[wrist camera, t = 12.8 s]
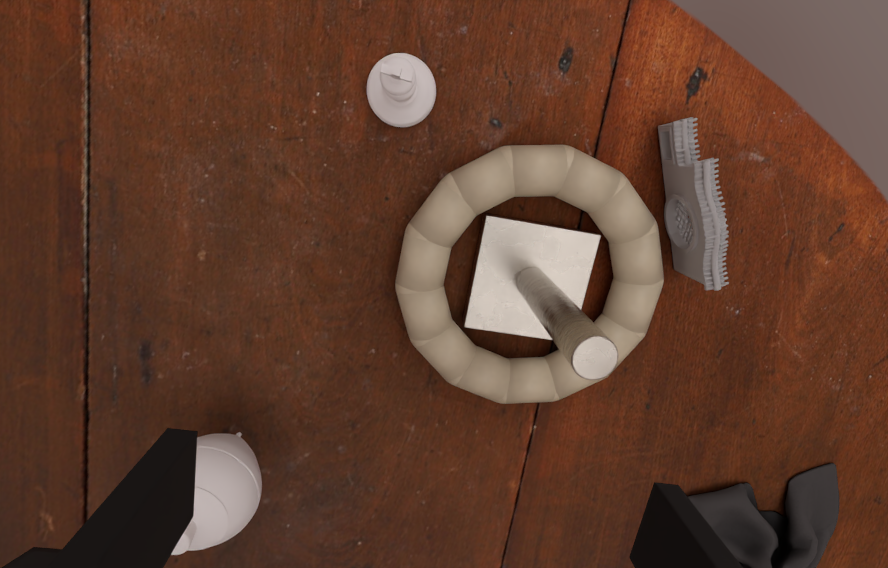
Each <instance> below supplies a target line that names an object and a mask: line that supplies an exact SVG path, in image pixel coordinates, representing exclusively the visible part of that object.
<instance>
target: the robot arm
mask: <svg viewBox="0 0 888 568" xmlns="http://www.w3.org/2000/svg"><path fill="white" fill-rule="evenodd" d="M196 451H197V431H189V430H180V429H171V428H167V430H166V431H165V432H164V433H163V434H162V435H161V436H160V438H159V439H158V440H157V441H156V442H155V443H154V445H153V446H152V447H151V448H150V449H149V450H148V451H147V453H146V454H145V455H144V456H143V457H142V458H141V459H140V461H139V462H138V463H137V464H136V465H135V466H134V468H133V469H132V470H131V471H130V472H129V473H128V474H127V476H126V477H125V478H124V479H123V480H122V481H121V482H120V484H119V485H118V486H117V487H116V488H115V489H114V491H113V492H112V493H111V494H110V495H109V496H108V497H107V499H106V500H105V501H104V502H103V503H102V504H101V505H100V507H99V508H98V509H97V510H96V511H95V512H94V514H93V515H92V516H91V517H90V518H89V519H88V520H87V522H86V523H85V524H84V525H83V526H82V527H81V528H80V530H79V531H78V532H77V533H76V534H75V535H74V537H73V538H72V539H71V540H70V541H69V542H68V543H67V545H66V546H65V547H64V548H63V549H62V550H61V549H50V548H38V547H33V548H32V549H30V550H29V551H27V552H25V553H24V554H22V555H21V556H19V557H18V558H16V559H14V560H13V561H11V562H10V563H8V564H7V565H5V566H4V567H2V568H163V567H164V565H165V563H166V562H167V560H168V558H169V557H170V555H171V553H172V552H173V550H174V548H175V547H176V545H177V543H178V542H179V540H180V538H181V536H182V535H183V533H184V531H185V530H186V528H187V526H188V525H189V523H190V521H191V520H192V518H193V515H194V494H195V472H196ZM630 559H631V561H632V563H633V565H634V567H635V568H743V567H742V566H741V564H740V563H739V562H738V561H737V559H736V558H735V557H734V555H733V554H732V553H731V552H730V550H729V549H728V548H727V547H726V545H725V544H724V543H723V541H722V540H721V539H720V538H719V536H718V535H717V534H716V533H715V531H714V530H713V529H712V527H711V526H710V525H709V524H708V522H707V521H706V520H705V519H704V517H703V516H702V515H701V513H700V512H699V511H698V510H697V508H696V507H695V506H694V505H693V503H692V502H691V501H690V499H689V498H688V497H687V496H686V494H685V493H684V492H683V491H682V489H681V488H680V487H679V486H678V485H672V484H663V483H654V485H653V488H652V491H651V494H650V497H649V500H648V503H647V506H646V509H645V512H644V515H643V518H642V521H641V524H640V527H639V530H638V533H637V536H636V539H635V542H634V545H633V548H632V551H631V554H630Z"/></svg>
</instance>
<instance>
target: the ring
mask: <svg viewBox="0 0 888 568" xmlns="http://www.w3.org/2000/svg"><path fill="white" fill-rule="evenodd" d="M533 196H554V197H556V198H558V199H561V200H563V201H565V202H567V203H569V204H571V205H573V206H575V207H577V208H579V209H581V210H583V211H585V212H587V213H588V214H589V216H590V217H591V218H592V220H593V221H594V222H595V224H596V225H597V227H598V228H599V229H600V231H601V232H602V233H603V235H604V236H605V238H606V239H607V240H608V243H609V250H610V256H611V263H612V270H613V280H612V284H611V287H610V290H609V293H608V296H607V299H606V303H605V306H604V309H603V312H602V313H601V315H600V316H599V317H598V318H597V319H596V320H595V321H594V323H595V324H596V325H597V326H598V327H599V328H600V329H601V330H602V331H603V332H604V333H605V334H606V336H607V337H608V338H609V339H610V340H611V341H612V342H613V343H614V344H615V345H616V347H617V350H618V362H617V365H616V366H615V368H616V367H617V366H618V365H619V364H620V363H621V362H622V361H623V360H624V359H625V358H626V356H627V355H628V354H629V353H630V352H631V351H632V350H633V349H634V348H635V347H636V346H637V344H638V343H639V342H640V341H641V340H642V339H643V338H644V336H645V335H646V333H647V330H648V327H649V324H650V322H651V319H652V316H653V313H654V310H655V307H656V304H657V301H658V298H659V295H660V293H661V290H662V287H663V283H664V273H663V265H662V256H661V247H660V239H659V230H658V225H657V222H656V220H655V218H654V217H653V215H652V214H651V212H650V211H649V210H648V208H647V207H646V205H645V204H644V202H643V201H642V199H641V198H640V196H639V195H638V193H637V192H636V191H635V189H634V188H633V186H632V185H631V183H630V182H629V180H628V179H627V178H626V176H625V175H624V174H623V173H621V172H620V171H618V170H616V169H615V168H613V167H611V166H609V165H607V164H605V163H603V162H601V161H599V160H597V159H595V158H593V157H591V156H589V155H587V154H585V153H583V152H581V151H579V150H577V149H575V148H573V147H571V146H568V145H508V146H502V147H499V148H497V149H495V150H493V151H491V152H489V153H487V154H485V155H483V156H481V157H480V158H478V159H476V160H474V161H472V162H470V163H468V164H466V165H464V166H462V167H460V168H458V169H456V170H454V171H452V172H450V173H449V174H447V175H446V176H444V178H443V179H442V180H441V181H440V182H439V183H438V185H437V186H436V187H435V189H434V190H433V191H432V193H431V194H430V195H429V197H428V198H427V199H426V201H425V202H424V203H423V205H422V206H421V207H420V209H419V210H418V211H417V213H416V214H415V215H414V217H413V218H412V219H411V221H410V222H409V223H408V225H407V227H406V230H405V234H404V240H403V245H402V250H401V255H400V260H399V265H398V271H397V276H396V281H395V288H396V293H397V297H398V300H399V304H400V307H401V311H402V314H403V318H404V322H405V325H406V329H407V332H408V336H409V339H410V341H411V343H412V344H413V345H414V347H415V348H416V349H417V350H418V351H419V352H420V353H421V354H422V355H423V356H424V357H425V359H426V360H427V361H428V362H429V363H430V364H431V365H432V366H433V367H434V368H435V369H436V370H437V371H438V373H439V374H440V375H441V376H442V377H443V378H444V379H445V380H446V381H447V382H448V383H450V384H452V385H454V386H456V387H459V388H461V389H464V390H466V391H469V392H471V393H474V394H477V395H479V396H482V397H484V398H487V399H489V400H492V401H494V402H497V403H503V404H509V403H533V402H553V401H558V400H560V399H562V398H564V397H567V396H569V395H571V394H573V393H575V392H577V391H579V390H582V389H584V388H586V387H588V386H590V385H592V384H595V383H597V382H599V381H601V380H603V379H605V378H607V377H608V376H609V375H610V374H611V373H612V372H613V371H614V370H613V371H612V372H611V373H610V374H608V375H607V376H605V377H604V378H601V379H597V380H588V379H584V378H582V377H580V376H579V375H577V374H576V373H575V371H574V370H573V368H572V367H571V366H570V364H569V363H568V361H567V360H566V358H565V357H564V356H563V354H562V353H561V351H560V350H557V351H555V352H553V353H551V354H548V355H546V356H544V357H529V358H505V357H502V356H500V355H498V354H495V353H493V352H490V351H488V350H486V349H483V348H481V347H478V346H476V345H474V344H473V342H472V341H471V340H470V339H469V338H468V337H467V336H466V335H465V333H464V332H463V331H462V330H461V329H460V328H459V327H458V325H457V324H456V323H455V322H454V321H453V320H452V317H451V313H450V309H449V305H448V301H447V297H446V293H445V289H444V285H443V284H444V280H445V275H446V270H447V266H448V261H449V257H450V252H451V248H452V246H453V245H454V244H455V242H456V241H457V240H458V239H459V237H460V236H461V235H462V234H463V232H464V231H465V230H466V228H467V227H468V226H469V225H470V223H471V222H472V221H473V220H474V218H475V217H476V216H477V215H479V214H481V213H483V212H485V211H487V210H489V209H491V208H493V207H495V206H497V205H499V204H501V203H502V202H504V201H506V200H508V199H510V198H512V197H533ZM615 368H614V369H615Z"/></svg>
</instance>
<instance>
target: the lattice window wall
mask: <svg viewBox="0 0 888 568" xmlns="http://www.w3.org/2000/svg"><path fill="white" fill-rule="evenodd" d="M696 120H697V118H694V119H693V118H692V117H690V118H686V119H681V120H679V121H675V122H672V123H668V124H664V125H661V126H658V133H659V142H660V150H661V159H662V169H663V177H664V186H665V195H666V203H665V208H664V221H665V226H666V230H667V233H668V236H669V238H670V240H671V247H672V256H673V264H674V270H676V271H678V272H680V273H682V274H684V275H686V276H688V277H690V278H692V279H694V280H696V281H698V282H700V283H702V284H704V287H705V290H712V289H714V290H720V289H721V287H723V286H725V285H727V284H729V282H726V283H725V282H724V280H726V279H728V277H725V278H724V277H723V275H725V274H727V272H724V273H723V270H726V269H727V268H726V267H724V268H722V266H723V265H726V263H725V262H724V263H722V261H723V260H726V257H724V258H722V256H725V255H726V253H722V252H724V251H727V248H725V247H727V246H728V244H726V243H728V241H725V239H726V238H727V237H729V236H728V235H726V234H727V233H729V231H726V227H728V225H726V223H725V221H727V219H726V218H725V217H724V215H726V213H723V211H724V210H725V208H722V207H721V206H722V205H724V204H725V203H724V202H722V203H720V202H719V200H721V199H723V197H718V196H717V195H719V194H721V193H722V192H721V191H720V192H717V191H716V189H719V188H720V186H717V187H716V185H715V184H716V183H719V181H718V180H717V181H715V178H716V177H718V175H714V173H717V172H719V171H718V170H714V168H715V167H718V166H719V165H718V164H716V165H714V162H717V161H719V159H715V160H714V158H710V159H706V160H702V161H697V158H699V157H700V155H697V156H696V155H695V154H696V153H699V152H700V151H699V150H697V151H695V148H697V147H699V145H695V144H694V143H695V142H698V140H694V137H696V136H697V134H693V132H696V131H697V129H695V130H693V127H694V126H697V123H695V124H693V121H696ZM687 210H688V211H687ZM688 216H689V218H688ZM691 220H692V222H691ZM689 224H691V226H689ZM692 227H693V230H692ZM724 244H726V245H724ZM723 248H725V249H723Z"/></svg>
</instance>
